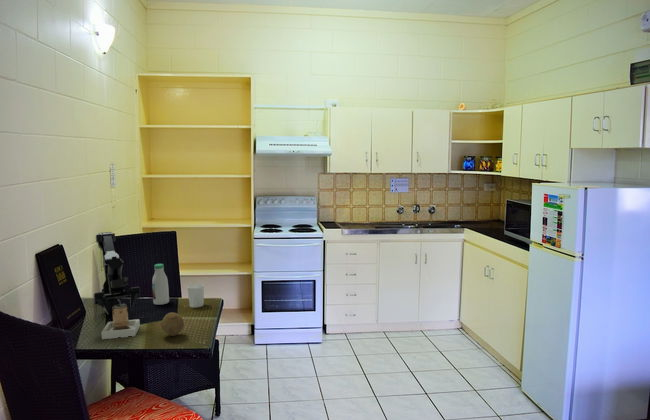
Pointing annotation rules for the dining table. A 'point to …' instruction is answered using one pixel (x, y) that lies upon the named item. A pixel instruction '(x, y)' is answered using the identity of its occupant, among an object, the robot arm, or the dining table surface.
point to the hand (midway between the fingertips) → (120, 312)
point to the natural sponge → (172, 323)
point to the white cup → (196, 295)
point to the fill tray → (111, 333)
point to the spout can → (120, 317)
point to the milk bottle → (160, 286)
